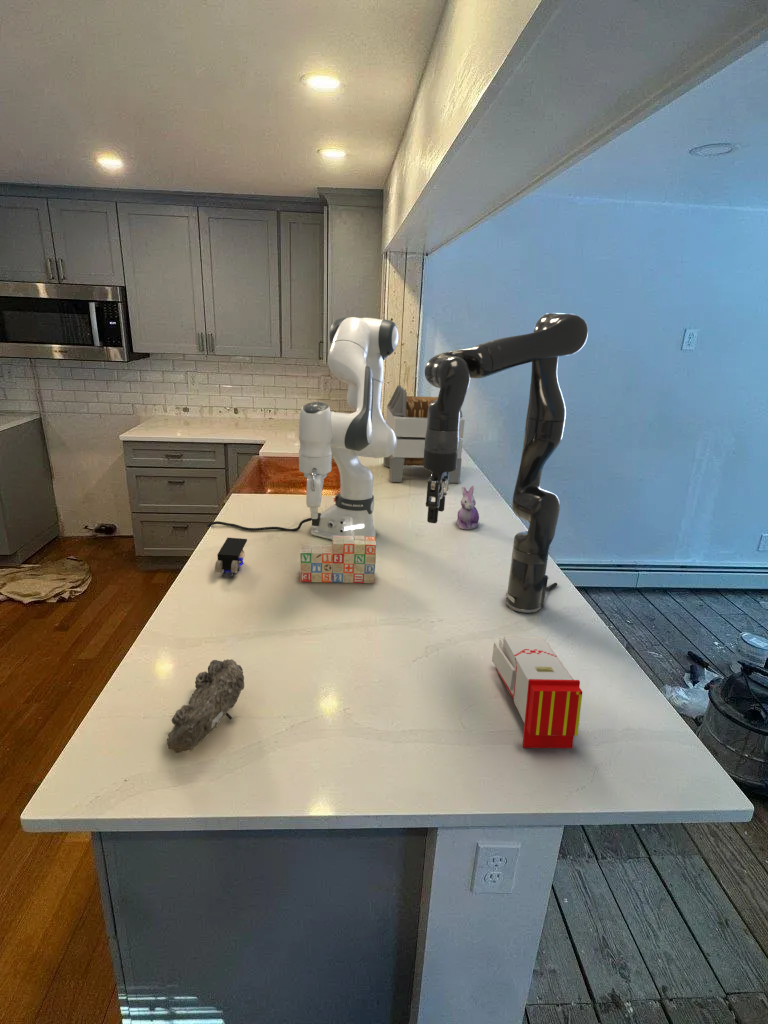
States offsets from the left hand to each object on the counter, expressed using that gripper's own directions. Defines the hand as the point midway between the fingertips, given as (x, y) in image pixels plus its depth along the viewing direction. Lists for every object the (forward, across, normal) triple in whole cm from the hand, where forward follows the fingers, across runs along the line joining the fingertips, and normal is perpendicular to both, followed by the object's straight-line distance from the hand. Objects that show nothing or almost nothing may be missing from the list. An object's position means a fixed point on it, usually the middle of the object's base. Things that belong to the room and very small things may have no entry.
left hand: (315, 512), depth 158 cm
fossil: (+20, -59, +16) cm, 65 cm away
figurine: (+20, +44, -54) cm, 73 cm away
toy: (+20, -55, -46) cm, 75 cm away
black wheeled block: (+20, +5, +25) cm, 32 cm away
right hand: (-9, -27, -29) cm, 41 cm away
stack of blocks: (+20, 0, -6) cm, 21 cm away
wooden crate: (+20, +114, -45) cm, 124 cm away
